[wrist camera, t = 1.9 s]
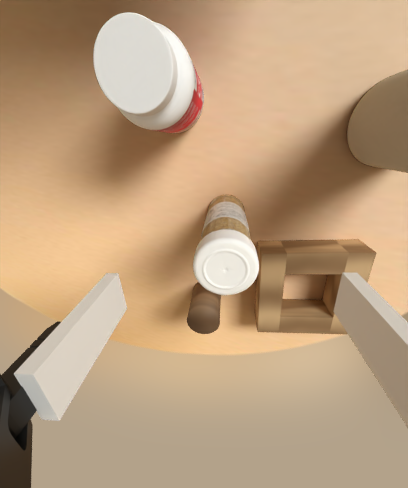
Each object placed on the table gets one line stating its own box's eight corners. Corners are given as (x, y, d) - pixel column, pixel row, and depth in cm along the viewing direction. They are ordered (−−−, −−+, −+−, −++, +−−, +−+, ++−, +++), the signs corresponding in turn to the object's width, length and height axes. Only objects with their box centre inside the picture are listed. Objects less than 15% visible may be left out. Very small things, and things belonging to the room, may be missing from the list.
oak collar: (258, 241, 28) (262, 253, 25) (358, 239, 27) (376, 252, 24) (254, 313, 33) (257, 331, 30) (339, 315, 32) (351, 334, 29)
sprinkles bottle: (228, 235, 28) (229, 308, 16) (200, 214, 27) (178, 274, 15) (252, 208, 26) (275, 267, 14) (223, 185, 26) (220, 225, 13)
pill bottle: (216, 103, 22) (209, 74, 12) (173, 146, 24) (136, 150, 14) (175, 44, 20) (127, -47, 11) (132, 95, 23) (58, 59, 13)
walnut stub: (192, 280, 32) (185, 308, 26) (220, 280, 31) (218, 309, 26) (194, 302, 33) (188, 333, 28) (221, 302, 33) (220, 334, 28)
